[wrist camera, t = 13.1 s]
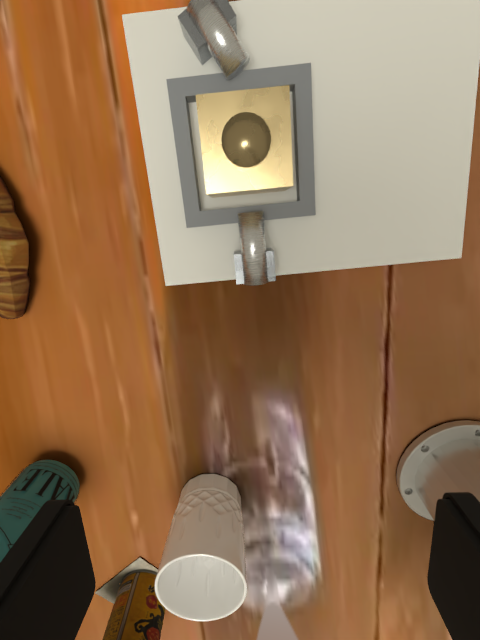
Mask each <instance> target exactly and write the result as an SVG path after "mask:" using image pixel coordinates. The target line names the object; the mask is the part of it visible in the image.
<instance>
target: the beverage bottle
mask: <svg viewBox="0 0 480 640" xmlns="http://www.w3.org/2000/svg"><path fill="white" fill-rule="evenodd" d="M18 475H19V474H18ZM16 477H17V476H16ZM16 477H15V478H16ZM11 483H12V482H11ZM11 483H10V484H11ZM7 487H8V486H7ZM79 487H80V485H79V480H78V477H77V476H76V474H75V473H74V471H73V470H72V469H71V468H69V467H68V466H67V465H65V464H63V463H61V462H58V461H55V460H40V461H37V462H34V463H33V464H30V465H28V467H27V466H26V468H25V469H24V468H23V471H21V474H20V475H19V476H18V477H17V478H16V480H15V481H14V480H13V483H12V484H11V485H10V487H9V488H8V489H7V490H6V491H5V490H4V491H5V492H4V491H3V492H4V494H3V495H2V496H1V497H0V562H1V561H2V559H3V558H4V557H5V555H6V554H7V553H8V551H9V550H10V549H11V547H12V546H13V545H14V543H15V542H16V541H17V539H18V538H19V537H20V535H21V534H22V533H23V531H24V530H25V529H26V527H27V526H28V525H29V523H30V522H31V521H32V519H33V518H34V517H35V515H36V514H37V513H38V511H39V510H40V509H41V507H42V506H43V505H44V503H45V502H46V501H48V500H68V499H69V500H72V501H73V503H74V502H75V500H76V499H77V496H79V495H78V492H79ZM1 494H2V493H1ZM75 503H76V502H75Z"/></svg>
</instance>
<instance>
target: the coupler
mask: <svg viewBox="0 0 480 640" xmlns="http://www.w3.org/2000/svg"><path fill="white" fill-rule="evenodd" d="M196 105H197V114H198V123H199V132H200V141H201V150H202V159H203V168H204V177H205V186H206V194H207V195H208V196H210V197H212V198H216V197H226V196H237V195H248V194H258V193H269V192H279V191H286V190H287V189H289V188H291V187H293V163H292V138H291V113H290V88H289V85H285V86H275V87H266V88H256V89H246V90H236V91H227V92H217V93H207V94H198V95H196Z"/></svg>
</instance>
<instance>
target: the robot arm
mask: <svg viewBox="0 0 480 640" xmlns="http://www.w3.org/2000/svg"><path fill="white" fill-rule="evenodd" d="M396 478H397V486H398V489H399V492H400V494H401V496H402V497H403V499H404V501H405V503H406V504H407V505H408V506H409V507H410V508H411V510H413V511H414V512H415V513H417V514H418V515H420V516H422V517H424V518H426V519H429V520H433V521H434V528H433V537H432V545H431V553H430V561H429V570H428V586H429V590H430V593H431V596H432V598H433V600H434V602H435V604H436V606H437V608H438V610H439V612H440V615H441V617H442V619H443V621H444V623H445V625H446V627H447V629H448V631H449V633H450V635H451V637H452V639H453V640H480V422H479V421H470V420H464V421H454V422H449V423H444V424H442V425H439V426H437V427H434V428H432V429H430V430H428V431H427V432H425V433H423V434H422V435H420V436H419V437H418V438H417V439H415V440H414V441H413V442H412V443H411V444H410V446H409V447H408V448H407V449H406V450H405V452H404V454H403V455H402V457H401V459H400V462H399V465H398V467H397V475H396ZM94 591H95V577H94V572H93V568H92V563H91V558H90V554H89V549H88V545H87V540H86V536H85V531H84V527H83V522H82V518H81V513H80V509H79V507H78V506H77V505H74V503H73V501H72V500H69V499H68V500H48V501H46V502H45V503H44V505H43V506H42V507H41V509H40V510H39V511H38V513H37V514H36V515H35V517H34V518H33V519H32V521H31V522H30V523H29V525H28V526H27V527H26V529H25V530H24V531H23V533H22V534H21V535H20V537H19V538H18V539H17V541H16V542H15V543H14V545H13V546H12V547H11V549H10V550H9V551H8V553H7V554H6V555H5V557H4V558H3V559H2V561H1V562H0V640H75V637H76V635H77V633H78V630H79V628H80V626H81V623H82V621H83V619H84V616H85V614H86V612H87V609H88V607H89V605H90V602H91V600H92V598H93V595H94Z"/></svg>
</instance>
